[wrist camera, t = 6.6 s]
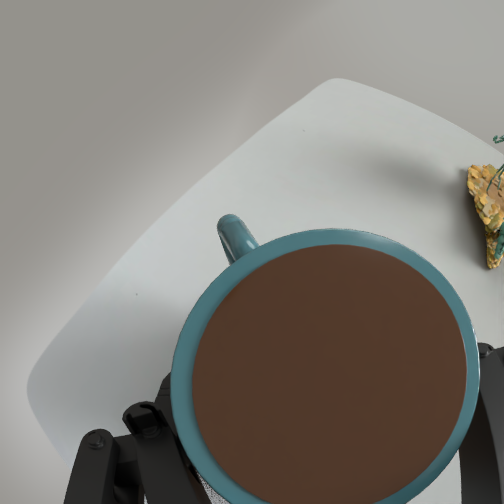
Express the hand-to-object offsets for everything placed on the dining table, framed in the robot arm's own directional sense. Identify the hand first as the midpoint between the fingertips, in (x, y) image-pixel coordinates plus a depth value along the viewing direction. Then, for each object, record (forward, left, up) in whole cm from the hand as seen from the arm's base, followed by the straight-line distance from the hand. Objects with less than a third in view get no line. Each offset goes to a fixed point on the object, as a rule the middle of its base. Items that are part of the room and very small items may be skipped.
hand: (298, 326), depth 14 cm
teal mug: (-1, -3, -4) cm, 5 cm away
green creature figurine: (+26, -1, -4) cm, 26 cm away
